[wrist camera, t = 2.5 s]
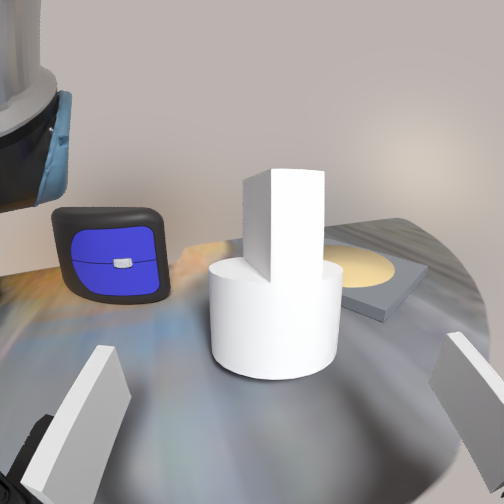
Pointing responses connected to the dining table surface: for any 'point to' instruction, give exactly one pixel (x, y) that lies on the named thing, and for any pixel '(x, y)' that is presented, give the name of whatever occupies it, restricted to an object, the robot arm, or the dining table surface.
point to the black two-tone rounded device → (112, 253)
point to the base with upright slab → (277, 283)
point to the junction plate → (373, 278)
